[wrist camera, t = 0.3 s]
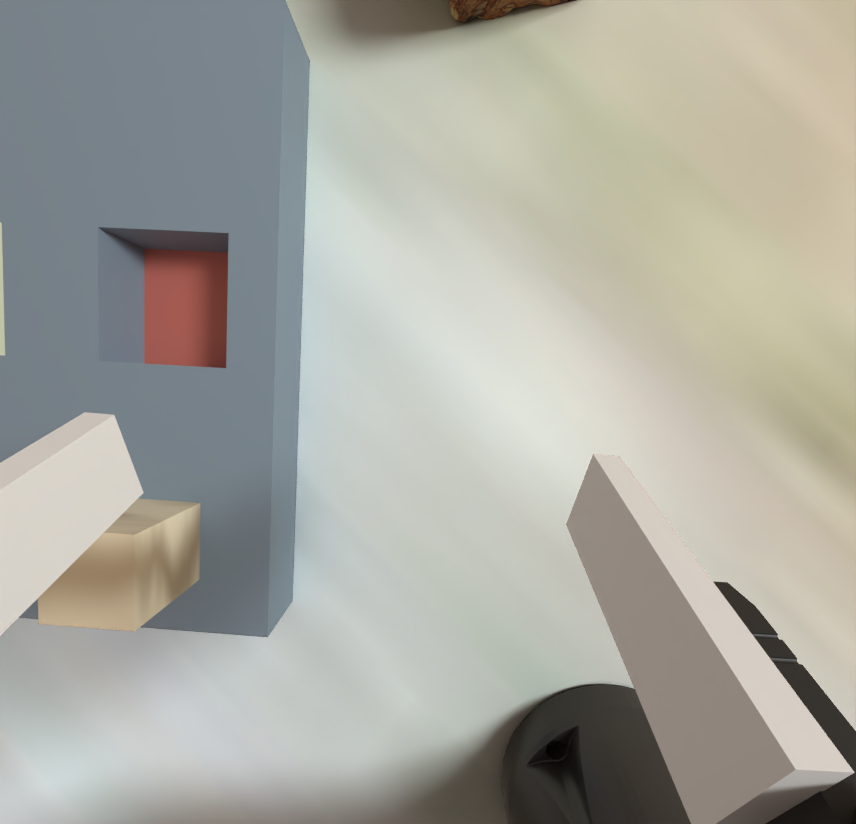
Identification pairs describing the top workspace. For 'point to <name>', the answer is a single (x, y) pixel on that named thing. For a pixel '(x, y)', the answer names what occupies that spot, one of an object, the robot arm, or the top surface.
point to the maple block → (129, 569)
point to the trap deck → (163, 265)
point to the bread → (489, 7)
